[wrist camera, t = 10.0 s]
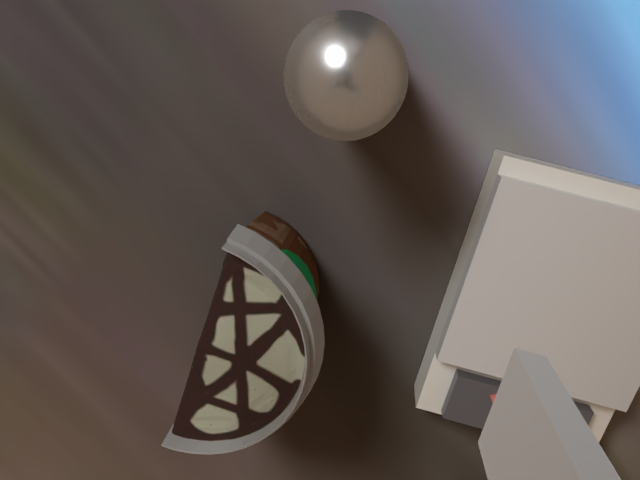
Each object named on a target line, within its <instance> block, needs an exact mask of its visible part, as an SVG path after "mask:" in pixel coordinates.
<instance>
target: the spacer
mask: <svg viewBox="0 0 640 480" xmlns="http://www.w3.org/2000/svg"><path fill="white" fill-rule="evenodd" d="M408 79H409V70H408V62H407V58H406V54H405V51H404V49H403V47H402V45H401V43H400V41H399V39H398V38H397V36H396V35H395V34H394V32H393V31H392V30H391V29H390V28H389V27H388V26H387V25H386V24H385V23H383V22H382V21H380V20H379V19H377V18H375V17H373V16H371V15H369V14H366V13H363V12H358V11H350V10H343V11H335V12H332V13H328V14H325V15H323V16H321V17H319V18H317V19H315V20H314V21H312V22H311V23H309V24H308V25H307V26H306V27H305V28H304V29H303V30H302V31H301V32H300V33H299V34H298V36H297V37H296V38H295V40H294V42H293V43H292V45H291V47H290V49H289V52H288V54H287V58H286V61H285V67H284V87H285V92H286V96H287V99H288V101H289V104H290V106H291V108H292V110H293V112H294V113H295V115H296V116H297V117H298V119H299V120H300V121H301V122H302V123H303V124H304V125H305V126H306V127H307V128H309V129H310V130H311V131H313V132H314V133H316V134H318V135H320V136H322V137H325V138H328V139H331V140H337V141H355V140H359V139H363V138H366V137H369V136H371V135H373V134H375V133H377V132H378V131H380V130H381V129H382V128H384V127H385V126H386V125H387V124H388V123H389V122H390V121H391V120H392V119H393V118H394V117H395V115H396V114H397V112H398V111H399V109H400V107H401V105H402V103H403V101H404V98H405V95H406V92H407V87H408Z"/></svg>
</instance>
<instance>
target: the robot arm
mask: <svg viewBox="0 0 640 480" xmlns="http://www.w3.org/2000/svg"><path fill="white" fill-rule="evenodd" d="M478 445H479V448H480V452H481V456H482V460H483V463H484V467H485V471H486V474H487V478H488V480H621V479H620V477H619V475H618V474H617V472H616V471H615V469H614V467H613V466H612V464H611V462H610V461H609V459H608V457H607V456H606V454H605V452H604V451H603V449H602V447H601V446H600V444H599V443H598V441H597V439H596V438H595V436H594V434H593V433H592V431H591V429H590V428H589V426H588V424H587V423H586V421H585V420H584V418H583V416H582V415H581V413H580V411H579V410H578V408H577V406H576V405H575V403H574V401H573V400H572V398H571V397H570V395H569V393H568V392H567V390H566V388H565V387H564V385H563V383H562V382H561V380H560V378H559V377H558V375H557V373H556V372H555V370H554V369H553V367H552V365H551V364H550V362H549V360H548V359H547V357H546V356H543V355H540V354H536V353H532V352H528V351H525V350H521V349H517V348H514V350H513V353H512V356H511V358H510V361H509V363H508V366H507V368H506V371H505V374H504V376H503V379H502V381H501V384H500V386H499V389H498V392H497V394H496V397H495V399H494V402H493V404H492V407H491V410H490V412H489V415H488V417H487V420H486V422H485V425H484V428H483V430H482V433H481V435H480V438H479V440H478Z"/></svg>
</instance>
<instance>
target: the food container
mask: <svg viewBox="0 0 640 480" xmlns="http://www.w3.org/2000/svg"><path fill="white" fill-rule="evenodd" d="M222 250H224V251H227V255H226V257H225V259H224V263H223V269H222V272H221V276H220V279H219V282H218V285H217V288H216V291H215V294H214V297H213V301H212V304H211V307H210V310H209V313H208V316H207V319H206V322H205V325H204V328H203V331H202V334H201V337H200V340H199V343H198V346H197V349H196V352H195V356H194V359H193V363H192V367H191V370H190V373H189V377H188V380H187V383H186V387H185V390H184V393H183V396H182V399H181V403H180V406H179V409H178V412H177V416H176V419H175V422H174V424H173V426H172V427H171V429H170V431H169V433H168V434H167V436H166V438H165V440H164V441H163V443H162V445H161V446H162V447H165V448H169V449H172V450H175V451H180V452H186V453H192V454H220V453H228V452H232V451H236V450H240V449H244V448H246V447H248V446H251V445H253V444H255V443H258V442H260V441H261V440H263V439H264V438H266V437H267V436H269V435H271V434H272V433H273V432H275V431H276V430H278V429H279V428H280V427H282V426H283V425H284V424H285V423H286V422H287V421H288V420H289V419H290V418H291V417H292V416H293V415H294V413H295V412H296V411H297V409H298V408H299V407H300V406H301V404H302V403H303V401H304V400H305V398H306V397H307V396H308V394H309V393H310V391H311V389H312V387H313V385H314V383H315V381H316V379H317V377H318V375H319V371H320V368H321V365H322V361H323V354H324V345H325V339H324V325H323V321H322V316H321V312H320V308H319V305H318V303H317V302H318V294H319V284H320V282H319V271H318V267H317V263H316V260H315V258H314V255H313V253H312V251H311V249H310V247H309V246H308V244H307V243H306V241H305V240H304V239H303V238H302V236H301V235H300V234H299V233H298V232H297V231H296V230H295V229H294V228H293V227H292V226H290V225H289V224H288V223H287V222H285V221H283V220H282V219H280V218H279V217H277V216H275V215H273V214H270V213H268V212H266V211H265V212H263V213H262V214H261V215H260V216H259V217H257V218H256V219H255V220H254V221H252V222H251V223H250V224H249V225H247V226H246V227H243V226H241V225H239V224H237V226H236V227H235V229H234V230H233V231H232V233H231V234H230V236H229V237H228V239H227V242H226V244H225V245H224V246H223V247H222Z"/></svg>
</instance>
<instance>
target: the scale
mask: <svg viewBox="0 0 640 480" xmlns="http://www.w3.org/2000/svg"><path fill="white" fill-rule="evenodd" d="M514 348H517V349H521V350H525V351H528V352H532V353H536V354H540V355H543V356H546V357H547V359H548V360H549V362H550V364H551V365H552V367H553V369H554V370H555V372H556V373H557V375H558V377H559V378H560V380H561V382H562V383H563V385H564V387H565V388H566V390H567V392H568V393H569V395H570V397H571V398H572V400H573V401H574V403H575V405H576V406H577V408H578V410H579V411H580V413H581V415H582V416H583V418H584V420H585V421H586V423H587V424H588V426H589V428H590V429H591V431H592V433H593V434H594V436H595V438H596V439H597V441H598V443H599V442H600V440H601V438H602V436H603V434H604V432H605V430H606V428H607V426H608V423H609V421H610V419H611V417H612V415H613V413H614V411H615V409H616V410H620V411H623V412H627V410H628V408H629V406H630V404H631V402H632V400H633V398H634V396H635V394H636V392H637V390H638V388H639V386H640V186H639V185H635V184H631V183H627V182H623V181H619V180H615V179H611V178H607V177H604V176H600V175H596V174H592V173H588V172H584V171H580V170H576V169H572V168H568V167H564V166H560V165H556V164H552V163H549V162H545V161H541V160H537V159H533V158H529V157H525V156H521V155H517V154H513V153H509V152H505V151H501V150H497V149H495V150H494V153H493V156H492V159H491V162H490V165H489V168H488V171H487V174H486V177H485V179H484V182H483V185H482V188H481V191H480V194H479V197H478V200H477V203H476V206H475V209H474V212H473V214H472V217H471V220H470V223H469V226H468V229H467V232H466V235H465V238H464V241H463V244H462V247H461V249H460V252H459V255H458V258H457V261H456V264H455V267H454V270H453V273H452V276H451V279H450V282H449V284H448V287H447V290H446V293H445V296H444V299H443V302H442V305H441V308H440V311H439V314H438V317H437V319H436V322H435V325H434V328H433V331H432V334H431V337H430V340H429V343H428V346H427V349H426V352H425V354H424V357H423V360H422V363H421V366H420V369H419V372H418V375H417V378H416V381H415V384H414V391H415V403H416V408H419V409H423V410H426V411H430V412H434V413H437V414H441V415H442V418H444V419H447V420H451V421H455V422H458V423H462V424H465V425H469V426H473V427H476V428H480V429H483V428H484V425H485V422H486V420H487V417H488V415H489V412H490V410H491V407H492V404H493V402H494V399H495V397H496V394H497V392H498V389H499V386H500V384H501V381H502V379H503V376H504V374H505V371H506V368H507V366H508V363H509V361H510V358H511V356H512V353H513V350H514Z"/></svg>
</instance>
